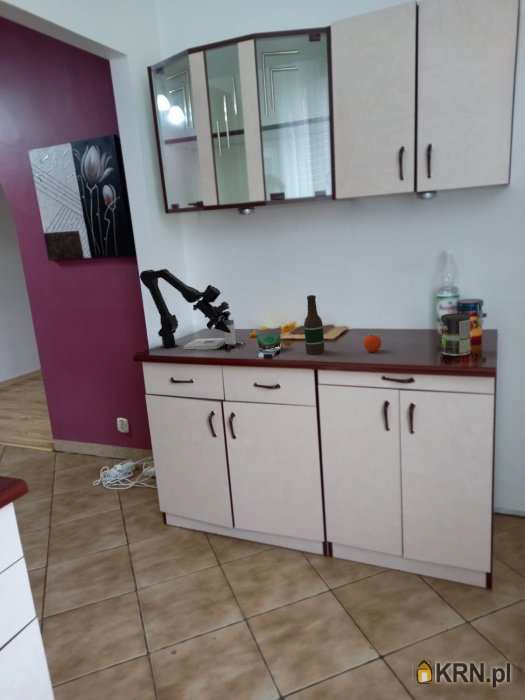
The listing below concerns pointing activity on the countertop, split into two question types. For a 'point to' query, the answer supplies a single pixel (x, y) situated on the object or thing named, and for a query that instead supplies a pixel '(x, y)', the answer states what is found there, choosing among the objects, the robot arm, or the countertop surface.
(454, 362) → the countertop surface
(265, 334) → the food container
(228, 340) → the plug
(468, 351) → the coffee can
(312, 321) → the beer bottle
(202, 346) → the socket
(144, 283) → the robot arm
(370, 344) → the clementine
